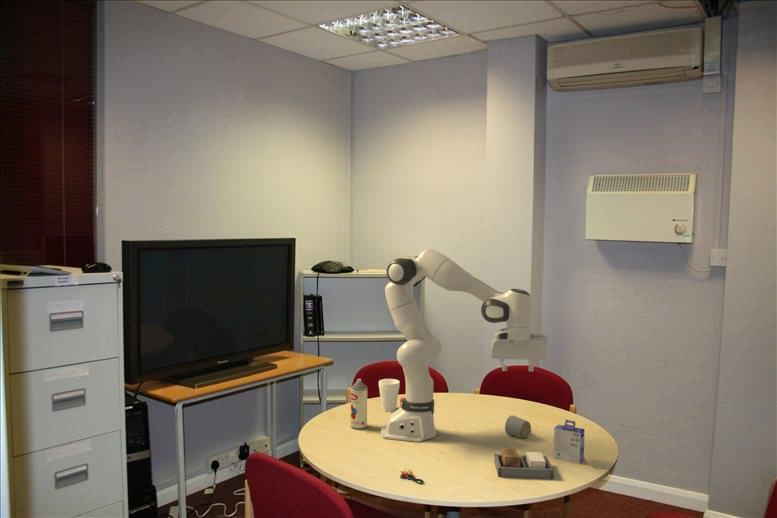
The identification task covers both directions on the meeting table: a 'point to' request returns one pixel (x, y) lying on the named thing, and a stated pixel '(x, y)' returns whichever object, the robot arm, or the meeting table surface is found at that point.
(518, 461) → the walnut block
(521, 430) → the ceramic mug
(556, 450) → the ink cartridge box
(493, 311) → the robot arm
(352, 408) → the aerosol can
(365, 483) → the meeting table surface
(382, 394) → the foam cup
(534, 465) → the off-white block
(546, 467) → the holder
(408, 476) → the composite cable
